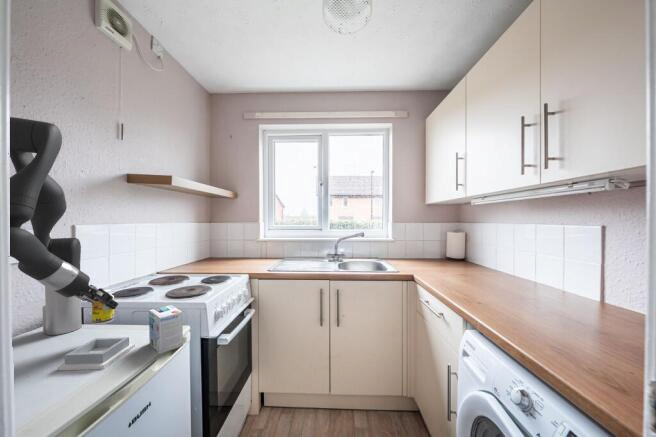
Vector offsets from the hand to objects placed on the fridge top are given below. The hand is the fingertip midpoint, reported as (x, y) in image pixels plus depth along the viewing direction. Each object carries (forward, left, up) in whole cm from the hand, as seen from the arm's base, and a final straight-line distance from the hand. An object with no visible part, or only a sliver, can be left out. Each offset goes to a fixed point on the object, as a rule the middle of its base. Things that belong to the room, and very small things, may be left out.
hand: (109, 305), depth 90 cm
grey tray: (+7, -13, -11) cm, 18 cm away
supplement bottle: (-1, -2, -5) cm, 5 cm away
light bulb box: (+22, -6, -11) cm, 25 cm away
